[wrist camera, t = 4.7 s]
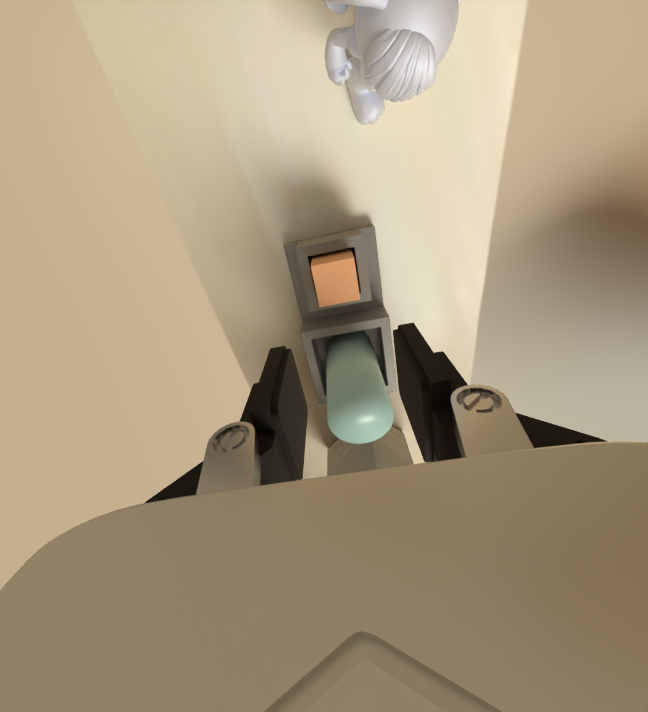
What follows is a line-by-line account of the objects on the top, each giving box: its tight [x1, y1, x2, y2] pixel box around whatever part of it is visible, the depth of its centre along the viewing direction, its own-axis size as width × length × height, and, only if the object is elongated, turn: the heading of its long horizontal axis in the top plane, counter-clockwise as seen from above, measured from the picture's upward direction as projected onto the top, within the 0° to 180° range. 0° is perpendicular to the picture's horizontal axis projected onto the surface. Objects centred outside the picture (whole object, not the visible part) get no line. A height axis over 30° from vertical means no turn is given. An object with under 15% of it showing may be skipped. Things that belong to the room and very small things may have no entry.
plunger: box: [311, 248, 360, 307], centre depth 25 cm, size 3×3×5 cm
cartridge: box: [326, 331, 394, 444], centre depth 27 cm, size 5×5×11 cm
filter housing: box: [284, 225, 397, 403], centre depth 29 cm, size 15×8×4 cm, turn 11°
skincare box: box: [327, 426, 413, 476], centre depth 32 cm, size 8×7×16 cm
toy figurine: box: [324, 0, 460, 125], centre depth 17 cm, size 7×6×12 cm
